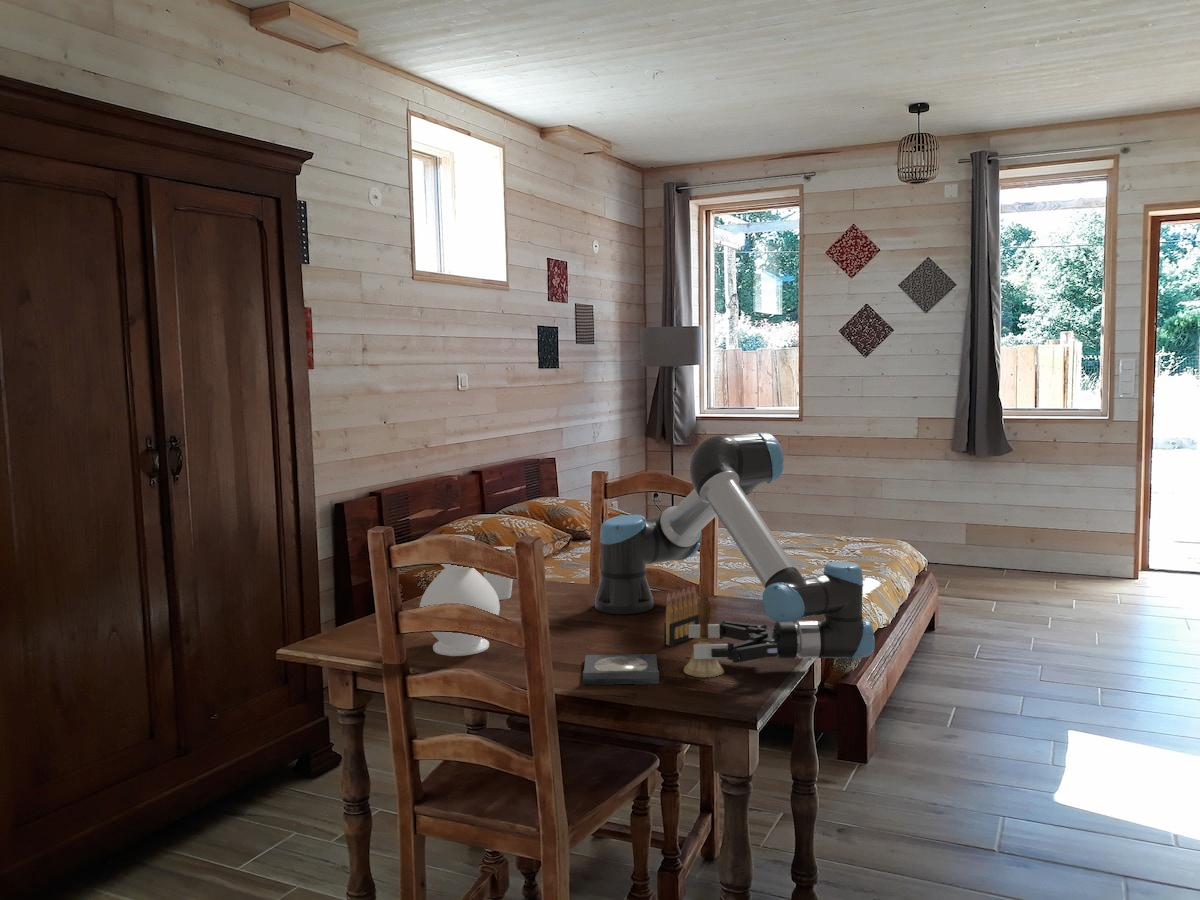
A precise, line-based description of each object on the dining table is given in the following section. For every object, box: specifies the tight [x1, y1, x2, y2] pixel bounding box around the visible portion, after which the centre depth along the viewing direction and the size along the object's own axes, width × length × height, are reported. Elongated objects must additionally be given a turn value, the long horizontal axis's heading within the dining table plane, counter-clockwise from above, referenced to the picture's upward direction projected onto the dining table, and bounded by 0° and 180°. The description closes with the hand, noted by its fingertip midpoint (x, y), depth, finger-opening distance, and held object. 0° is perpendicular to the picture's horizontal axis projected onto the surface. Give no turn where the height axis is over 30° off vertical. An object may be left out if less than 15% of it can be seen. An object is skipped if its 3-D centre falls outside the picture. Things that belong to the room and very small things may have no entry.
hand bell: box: [683, 594, 725, 679], centre depth 190 cm, size 8×8×16 cm
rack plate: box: [582, 653, 660, 686], centre depth 191 cm, size 15×15×2 cm
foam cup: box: [482, 546, 514, 601], centre depth 253 cm, size 10×9×13 cm
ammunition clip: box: [663, 584, 700, 647], centre depth 211 cm, size 11×2×12 cm, turn 136°
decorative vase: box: [419, 534, 501, 657], centre depth 208 cm, size 18×18×25 cm
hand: (691, 641), depth 190 cm, fingers open, 13 cm apart
